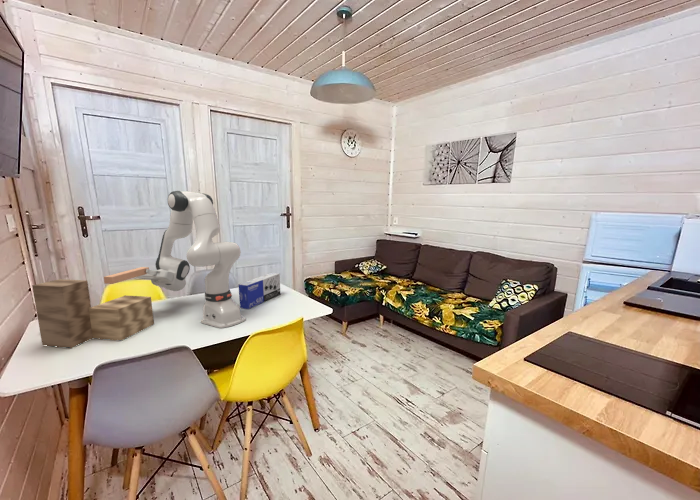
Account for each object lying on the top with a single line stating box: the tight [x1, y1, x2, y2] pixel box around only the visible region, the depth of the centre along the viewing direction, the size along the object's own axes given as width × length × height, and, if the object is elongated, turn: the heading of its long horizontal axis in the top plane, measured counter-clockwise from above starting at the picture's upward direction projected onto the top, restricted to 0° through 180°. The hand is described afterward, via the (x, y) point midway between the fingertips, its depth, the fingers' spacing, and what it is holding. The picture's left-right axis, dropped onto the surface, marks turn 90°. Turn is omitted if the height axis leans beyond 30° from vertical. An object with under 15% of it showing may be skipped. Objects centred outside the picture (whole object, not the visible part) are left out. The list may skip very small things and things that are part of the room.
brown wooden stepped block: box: [31, 278, 155, 349], centre depth 133 cm, size 27×28×26 cm
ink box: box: [237, 272, 281, 310], centre depth 181 cm, size 30×7×14 cm, turn 156°
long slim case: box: [103, 266, 150, 285], centre depth 140 cm, size 20×4×3 cm, turn 171°
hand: (140, 270), depth 147 cm, fingers closed on long slim case, 4 cm apart
